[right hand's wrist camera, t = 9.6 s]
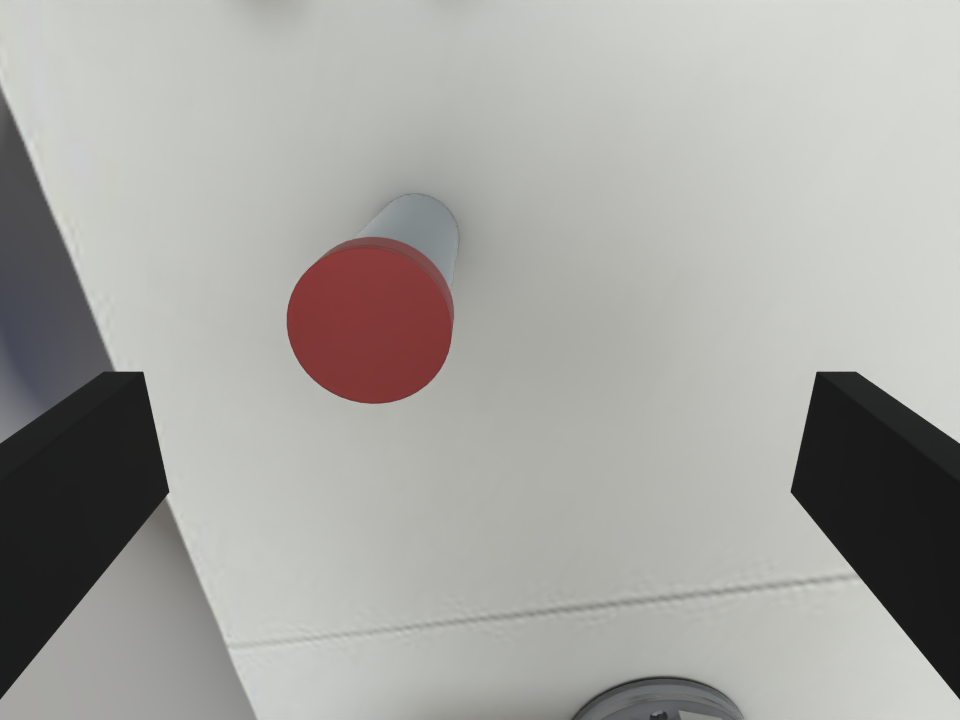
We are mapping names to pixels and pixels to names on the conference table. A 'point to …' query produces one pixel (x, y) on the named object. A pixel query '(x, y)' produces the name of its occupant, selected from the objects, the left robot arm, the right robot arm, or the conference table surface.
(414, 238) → the blue-grey tall cylinder
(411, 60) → the conference table surface
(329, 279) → the lid
